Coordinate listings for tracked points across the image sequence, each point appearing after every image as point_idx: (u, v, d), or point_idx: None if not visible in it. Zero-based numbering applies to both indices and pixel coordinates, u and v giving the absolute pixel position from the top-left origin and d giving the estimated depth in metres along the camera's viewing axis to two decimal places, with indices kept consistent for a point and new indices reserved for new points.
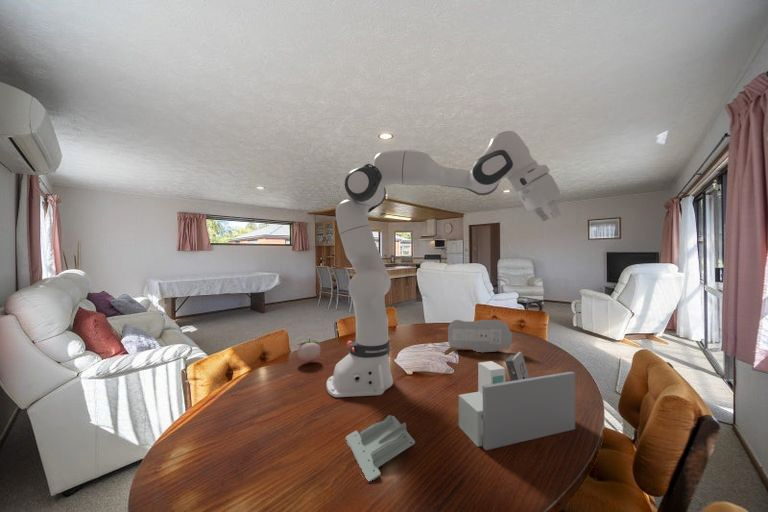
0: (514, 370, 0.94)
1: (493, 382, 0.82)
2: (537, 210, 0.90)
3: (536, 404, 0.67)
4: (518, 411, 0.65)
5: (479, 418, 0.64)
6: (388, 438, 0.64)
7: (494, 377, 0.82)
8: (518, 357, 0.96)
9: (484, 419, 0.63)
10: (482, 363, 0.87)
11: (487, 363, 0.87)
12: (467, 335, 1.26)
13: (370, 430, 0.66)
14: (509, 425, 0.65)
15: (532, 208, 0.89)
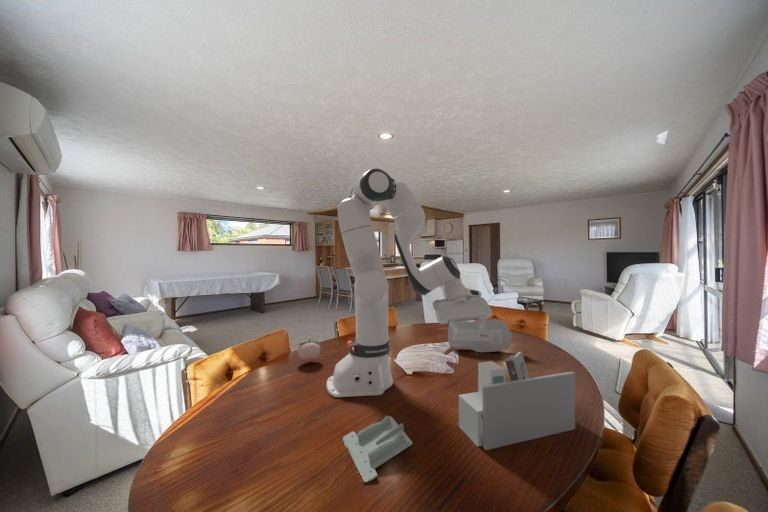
0: (514, 370, 0.94)
1: (493, 382, 0.82)
2: None
3: (536, 404, 0.67)
4: (518, 411, 0.65)
5: (479, 418, 0.64)
6: (385, 439, 0.63)
7: (494, 377, 0.82)
8: (518, 357, 0.96)
9: (484, 419, 0.63)
10: (482, 363, 0.87)
11: (487, 363, 0.87)
12: (467, 335, 1.26)
13: (367, 431, 0.66)
14: (509, 425, 0.65)
15: (456, 316, 0.99)
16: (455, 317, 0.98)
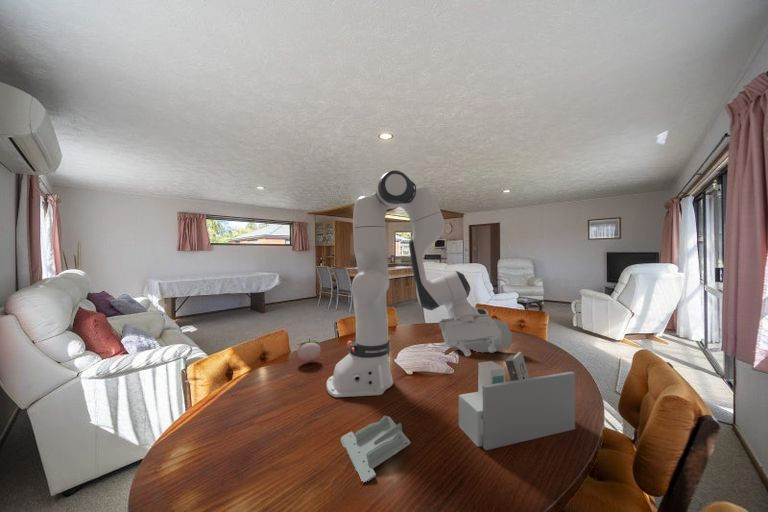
0: (514, 370, 0.94)
1: (493, 382, 0.82)
2: None
3: (536, 404, 0.67)
4: (518, 411, 0.65)
5: (479, 418, 0.64)
6: (383, 439, 0.63)
7: (494, 377, 0.82)
8: (518, 357, 0.96)
9: (484, 419, 0.63)
10: (482, 363, 0.87)
11: (487, 363, 0.87)
12: None
13: (365, 431, 0.66)
14: (509, 425, 0.65)
15: (465, 337, 0.93)
16: (464, 338, 0.92)
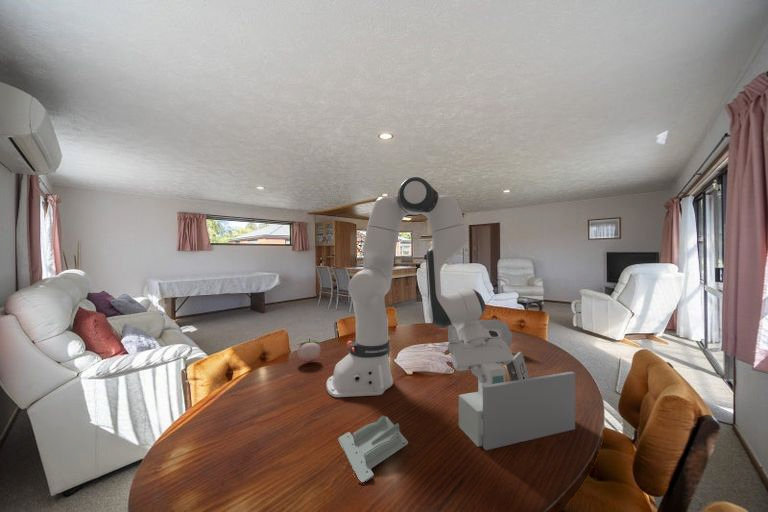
0: (514, 370, 0.94)
1: (493, 382, 0.82)
2: None
3: (536, 404, 0.67)
4: (518, 411, 0.65)
5: (479, 418, 0.64)
6: (381, 439, 0.63)
7: (494, 377, 0.82)
8: (518, 357, 0.96)
9: (484, 419, 0.63)
10: None
11: (487, 363, 0.87)
12: None
13: (363, 431, 0.65)
14: (509, 425, 0.65)
15: (476, 362, 0.86)
16: (474, 364, 0.86)
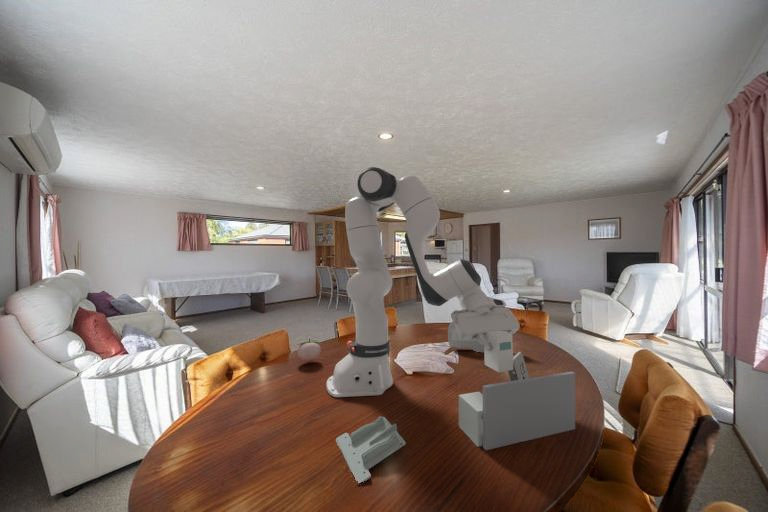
0: (514, 370, 0.94)
1: (500, 349, 0.78)
2: None
3: (536, 404, 0.67)
4: (518, 411, 0.65)
5: (479, 418, 0.64)
6: (379, 439, 0.63)
7: (501, 343, 0.78)
8: (518, 357, 0.96)
9: (484, 419, 0.63)
10: None
11: (493, 331, 0.83)
12: None
13: (360, 432, 0.65)
14: (509, 425, 0.65)
15: (481, 330, 0.82)
16: (480, 332, 0.82)
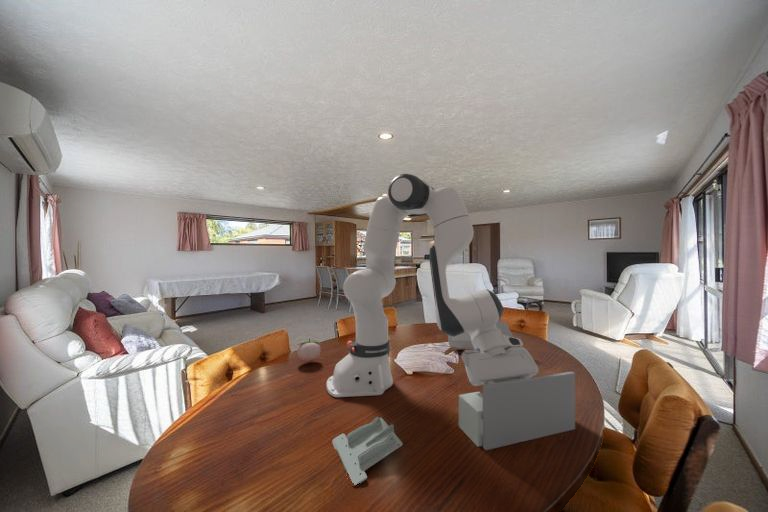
0: None
1: None
2: None
3: (536, 404, 0.67)
4: (518, 411, 0.65)
5: (479, 418, 0.64)
6: (375, 440, 0.63)
7: None
8: None
9: (484, 419, 0.63)
10: None
11: None
12: (467, 335, 1.26)
13: (357, 432, 0.65)
14: (509, 425, 0.65)
15: (496, 376, 0.73)
16: (494, 378, 0.73)
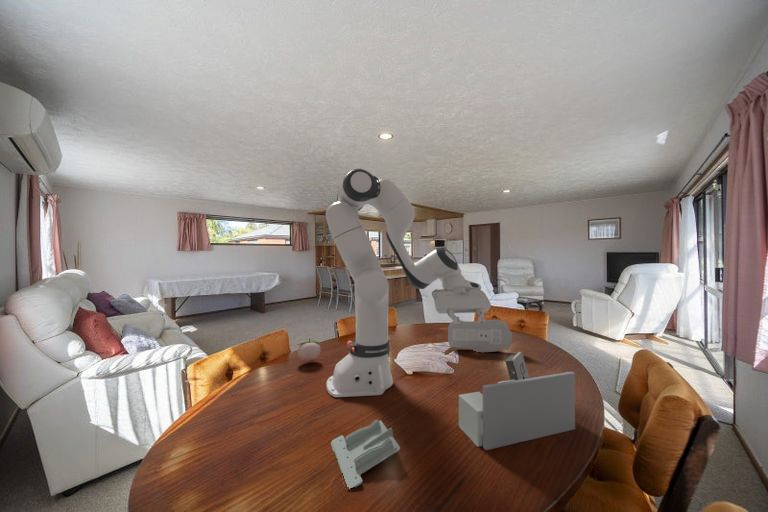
0: (514, 370, 0.94)
1: None
2: None
3: (536, 404, 0.67)
4: (518, 411, 0.65)
5: (479, 418, 0.64)
6: (373, 444, 0.62)
7: None
8: (518, 357, 0.96)
9: (484, 419, 0.63)
10: None
11: None
12: (467, 335, 1.26)
13: (355, 435, 0.64)
14: (509, 425, 0.65)
15: (456, 306, 0.96)
16: (454, 307, 0.96)
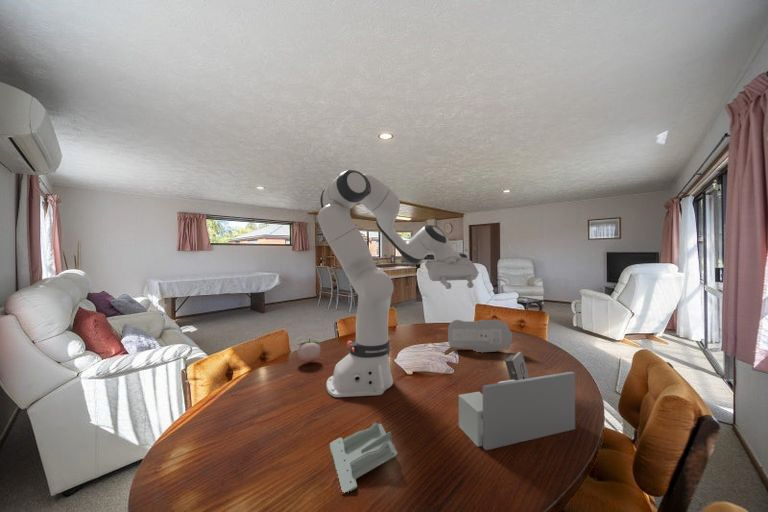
0: (514, 370, 0.94)
1: None
2: None
3: (536, 404, 0.67)
4: (518, 411, 0.65)
5: (479, 418, 0.64)
6: (371, 447, 0.61)
7: None
8: (518, 357, 0.96)
9: (484, 419, 0.63)
10: None
11: None
12: (467, 335, 1.26)
13: (354, 438, 0.63)
14: (509, 425, 0.65)
15: (447, 273, 1.07)
16: (446, 274, 1.07)
